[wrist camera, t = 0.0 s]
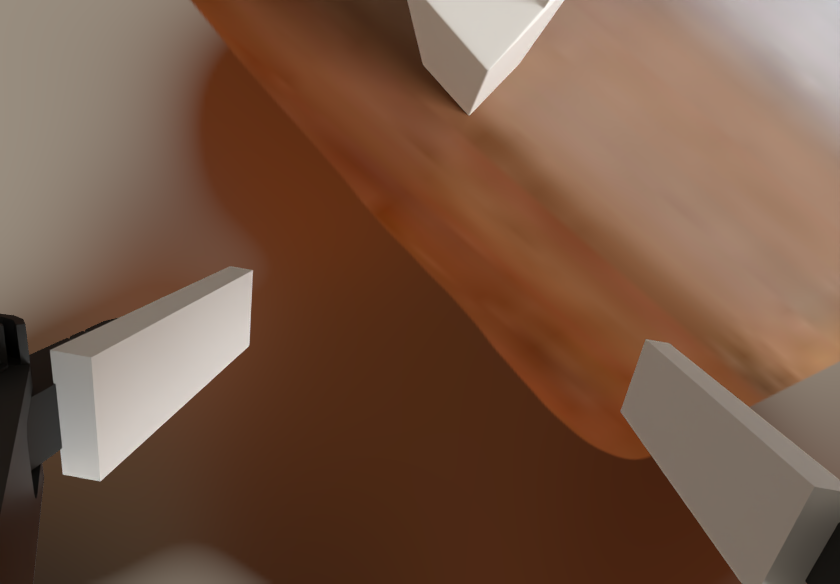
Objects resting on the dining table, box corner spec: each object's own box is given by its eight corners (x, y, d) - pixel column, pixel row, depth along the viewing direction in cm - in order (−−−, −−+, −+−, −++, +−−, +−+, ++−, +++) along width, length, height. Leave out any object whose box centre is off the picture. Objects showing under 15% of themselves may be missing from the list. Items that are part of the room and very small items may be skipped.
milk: (472, 8, 36) (510, -227, 14) (520, 64, 37) (622, -79, 15) (421, 66, 37) (387, -72, 16) (468, 118, 38) (496, 54, 17)
